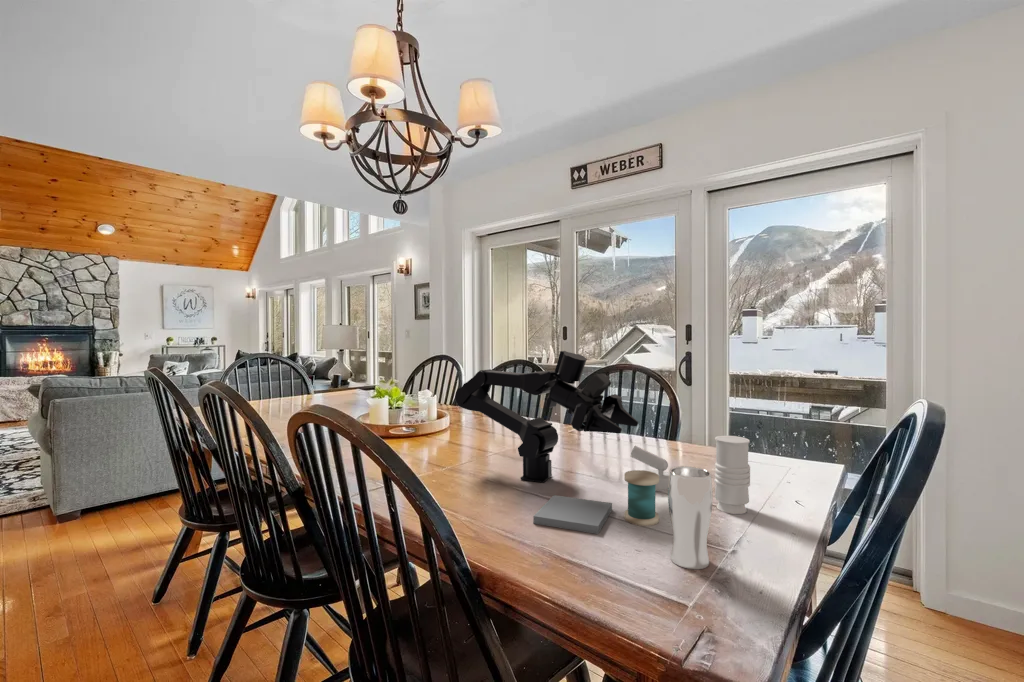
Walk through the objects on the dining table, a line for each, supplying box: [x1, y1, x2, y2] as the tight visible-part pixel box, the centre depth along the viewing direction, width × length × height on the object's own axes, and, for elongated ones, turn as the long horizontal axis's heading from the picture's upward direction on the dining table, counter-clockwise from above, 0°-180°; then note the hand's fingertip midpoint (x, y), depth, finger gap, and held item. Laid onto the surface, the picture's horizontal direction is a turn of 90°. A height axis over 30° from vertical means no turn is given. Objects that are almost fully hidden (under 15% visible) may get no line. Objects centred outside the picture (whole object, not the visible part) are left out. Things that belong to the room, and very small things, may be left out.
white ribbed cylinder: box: [713, 435, 751, 515], centre depth 104 cm, size 7×7×15 cm
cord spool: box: [623, 469, 660, 527], centre depth 99 cm, size 7×7×9 cm
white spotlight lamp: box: [630, 444, 670, 491], centre depth 121 cm, size 9×10×10 cm
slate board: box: [532, 494, 613, 535], centre depth 101 cm, size 13×13×2 cm
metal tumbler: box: [667, 465, 714, 570], centre depth 81 cm, size 7×7×15 cm
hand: (629, 427), depth 110 cm, fingers open, 9 cm apart
